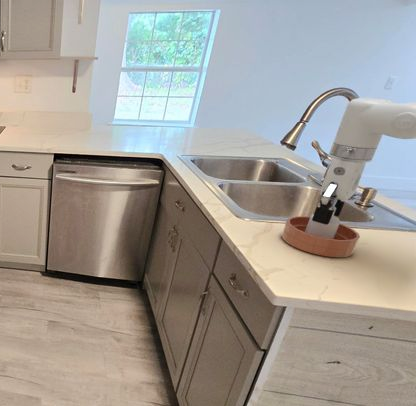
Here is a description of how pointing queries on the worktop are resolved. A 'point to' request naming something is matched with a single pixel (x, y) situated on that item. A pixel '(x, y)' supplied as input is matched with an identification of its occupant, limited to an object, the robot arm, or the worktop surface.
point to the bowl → (320, 239)
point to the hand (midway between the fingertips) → (325, 217)
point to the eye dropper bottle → (323, 227)
